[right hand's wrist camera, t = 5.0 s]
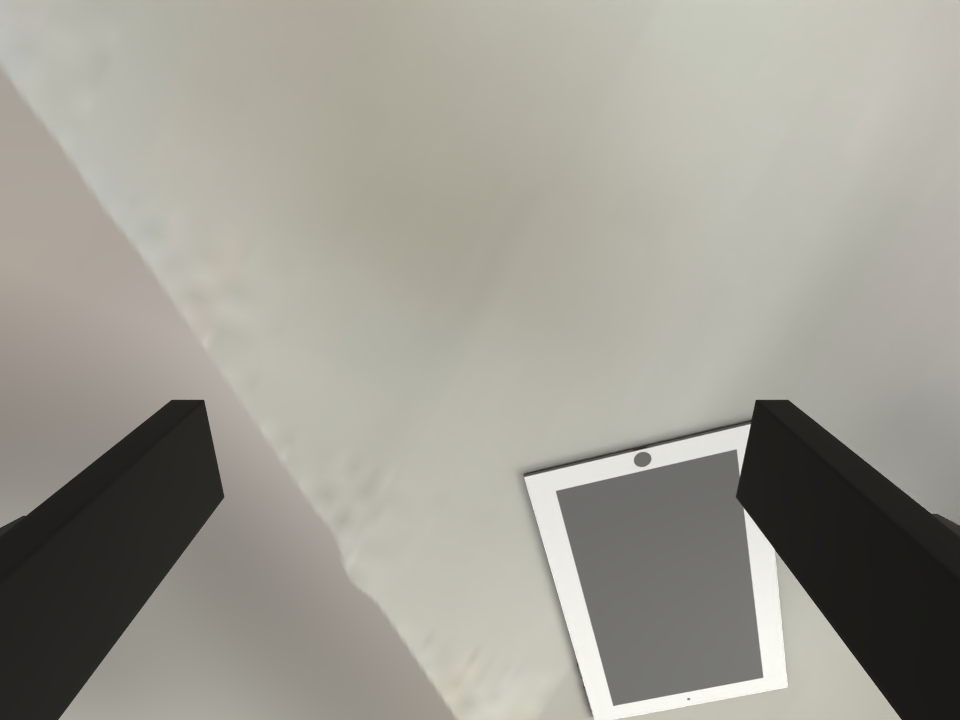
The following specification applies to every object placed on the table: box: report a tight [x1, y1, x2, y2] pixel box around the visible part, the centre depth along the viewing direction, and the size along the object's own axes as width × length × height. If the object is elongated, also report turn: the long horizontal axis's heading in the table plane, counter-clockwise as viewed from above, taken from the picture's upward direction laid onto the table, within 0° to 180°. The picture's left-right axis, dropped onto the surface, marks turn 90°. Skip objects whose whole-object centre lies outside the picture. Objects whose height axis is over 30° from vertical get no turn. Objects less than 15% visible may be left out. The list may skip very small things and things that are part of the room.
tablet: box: [524, 422, 788, 720], centre depth 50 cm, size 32×20×1 cm, turn 16°
